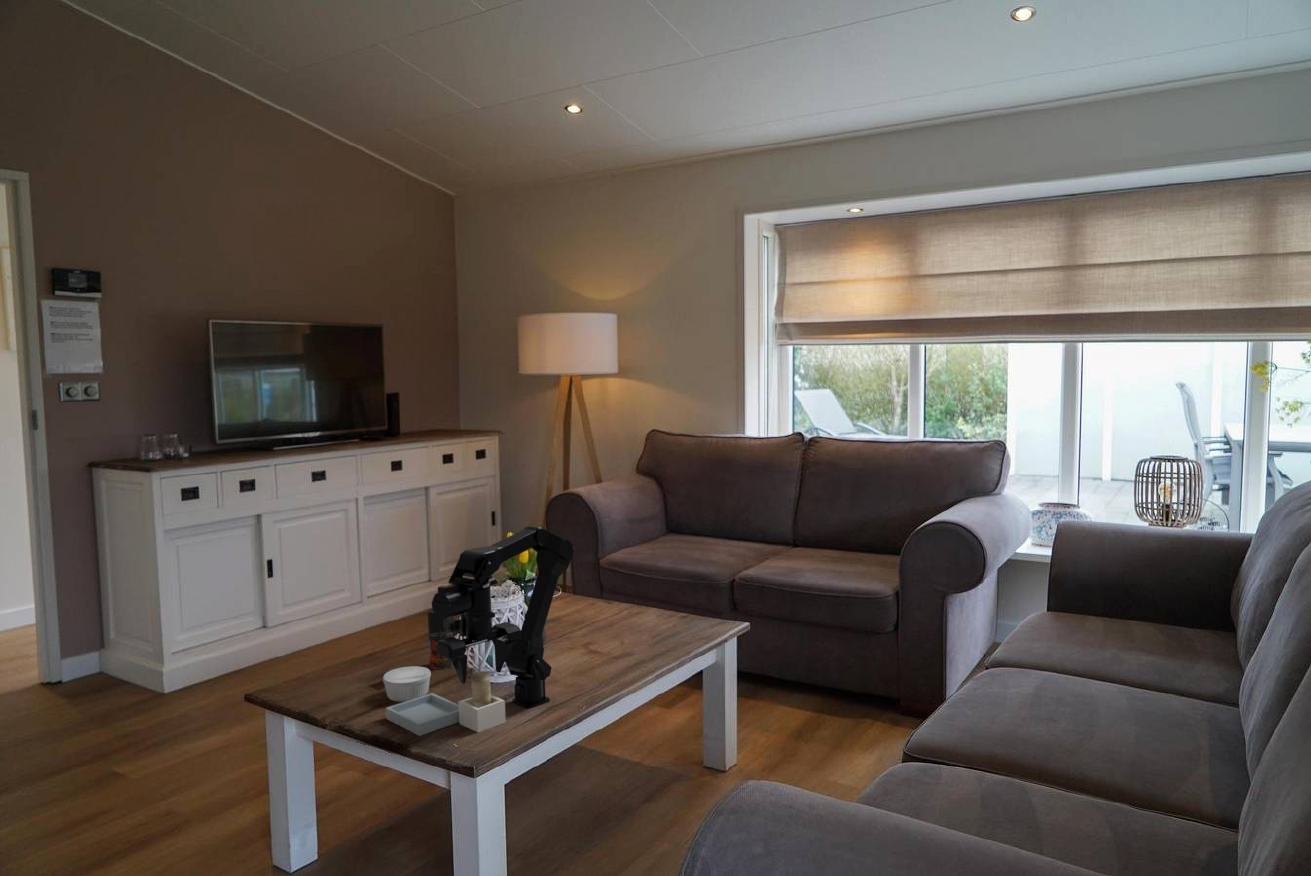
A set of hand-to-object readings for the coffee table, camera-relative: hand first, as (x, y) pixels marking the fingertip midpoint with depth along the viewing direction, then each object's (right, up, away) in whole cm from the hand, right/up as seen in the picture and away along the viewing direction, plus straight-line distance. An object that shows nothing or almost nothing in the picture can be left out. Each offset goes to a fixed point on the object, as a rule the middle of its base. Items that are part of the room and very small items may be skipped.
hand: (481, 677), depth 197 cm
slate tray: (-13, -10, +4) cm, 17 cm away
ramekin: (-21, -10, +19) cm, 30 cm away
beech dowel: (0, -10, +1) cm, 10 cm away
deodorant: (-18, -8, +39) cm, 44 cm away
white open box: (0, -10, +1) cm, 10 cm away
